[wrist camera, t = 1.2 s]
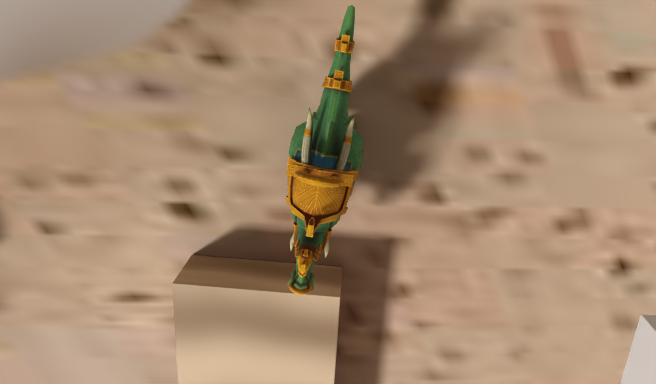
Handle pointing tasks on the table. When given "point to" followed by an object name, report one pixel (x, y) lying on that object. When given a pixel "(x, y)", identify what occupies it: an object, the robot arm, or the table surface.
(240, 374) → the beige rectangular block
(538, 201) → the table surface
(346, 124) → the figurine
